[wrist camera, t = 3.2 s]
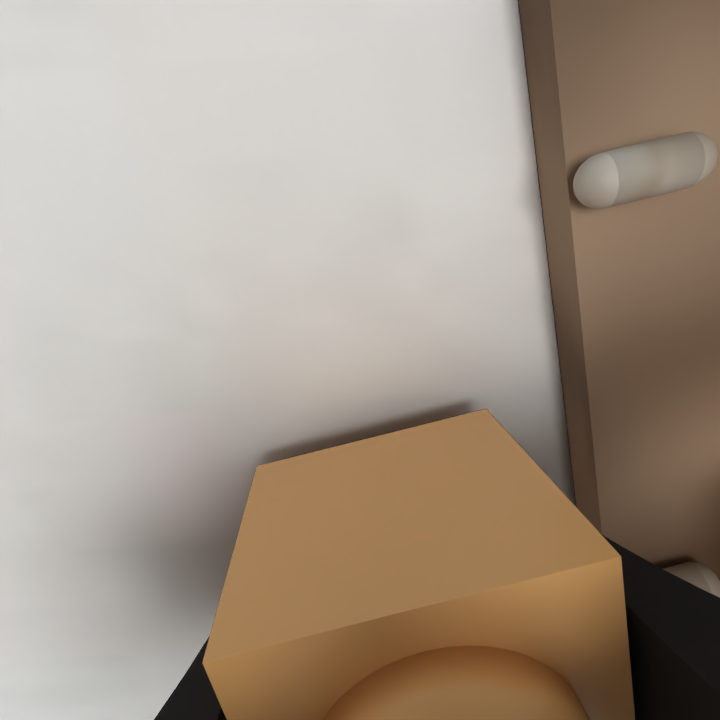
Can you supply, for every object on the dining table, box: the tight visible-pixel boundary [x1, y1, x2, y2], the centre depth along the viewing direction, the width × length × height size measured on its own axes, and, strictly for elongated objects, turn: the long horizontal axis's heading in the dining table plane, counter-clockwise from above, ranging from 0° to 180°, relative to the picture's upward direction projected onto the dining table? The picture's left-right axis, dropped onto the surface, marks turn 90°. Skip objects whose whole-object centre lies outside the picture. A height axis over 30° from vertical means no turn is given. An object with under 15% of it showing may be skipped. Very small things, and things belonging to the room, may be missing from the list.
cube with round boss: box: [202, 409, 635, 720], centre depth 8 cm, size 5×5×6 cm
